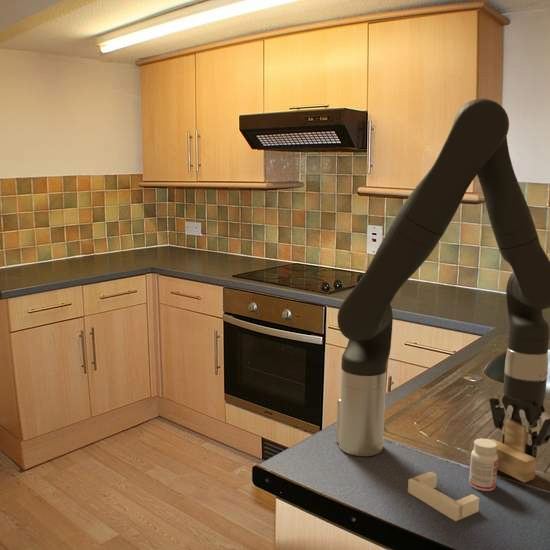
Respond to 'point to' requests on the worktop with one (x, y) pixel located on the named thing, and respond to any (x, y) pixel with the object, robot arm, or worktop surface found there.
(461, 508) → the bay
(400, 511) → the worktop surface
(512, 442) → the scraper
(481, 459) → the pill bottle
